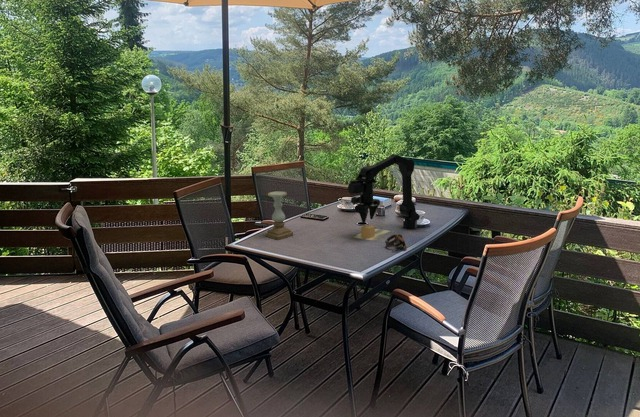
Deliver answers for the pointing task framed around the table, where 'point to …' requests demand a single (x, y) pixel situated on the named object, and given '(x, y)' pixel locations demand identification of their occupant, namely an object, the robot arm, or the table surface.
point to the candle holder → (278, 218)
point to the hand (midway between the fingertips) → (367, 221)
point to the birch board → (378, 235)
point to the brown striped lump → (396, 241)
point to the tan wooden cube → (367, 231)
